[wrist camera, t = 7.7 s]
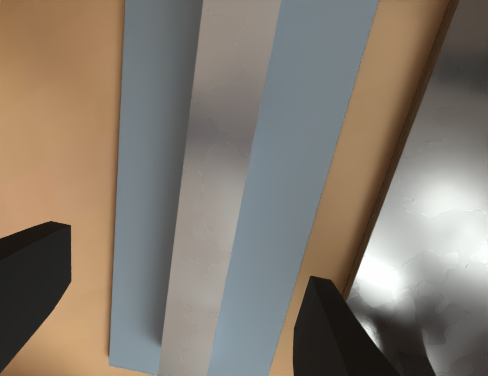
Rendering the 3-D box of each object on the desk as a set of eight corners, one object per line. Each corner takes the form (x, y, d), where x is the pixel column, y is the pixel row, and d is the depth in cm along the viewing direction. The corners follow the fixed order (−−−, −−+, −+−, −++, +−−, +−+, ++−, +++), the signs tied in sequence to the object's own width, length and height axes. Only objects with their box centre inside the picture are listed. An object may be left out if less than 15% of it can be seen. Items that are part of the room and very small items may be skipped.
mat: (261, 391, 21) (261, 397, 21) (111, 359, 21) (108, 365, 21) (409, -113, 12) (413, -118, 11) (137, -165, 12) (133, -172, 11)
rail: (210, 361, 20) (203, 394, 18) (168, 352, 20) (156, 384, 18) (294, -61, 12) (296, -78, 10) (224, -75, 12) (214, -95, 10)
